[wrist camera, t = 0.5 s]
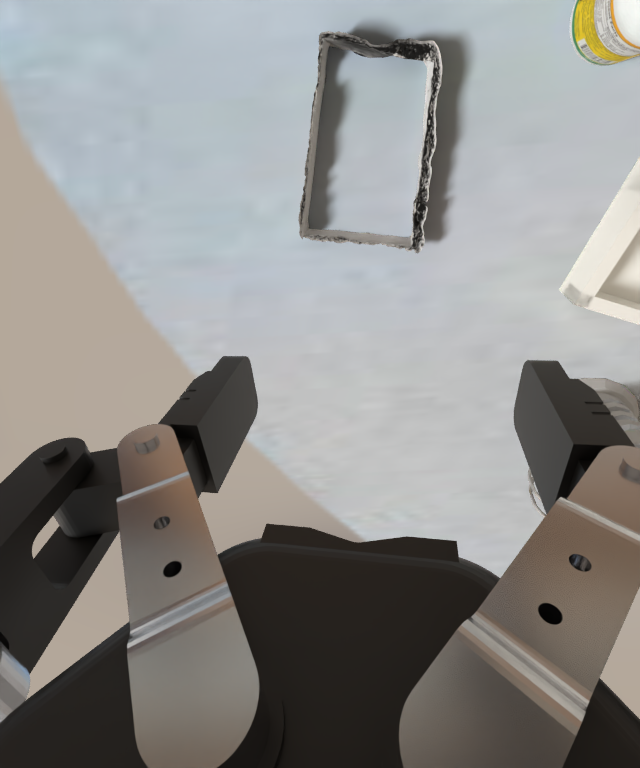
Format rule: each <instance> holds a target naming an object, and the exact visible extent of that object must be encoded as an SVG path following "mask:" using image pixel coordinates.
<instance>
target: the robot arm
mask: <svg viewBox="0 0 640 768" xmlns="http://www.w3.org/2000/svg"><path fill="white" fill-rule="evenodd" d="M257 408H258V400H257V394H256V389H255V383H254V378H253V373H252V368H251V363H250V360H249V358H248V357H246V356H223V357H222V358H221V359H220V360H219V362H218V363H217V364H216V366H215V367H214V368H213V369H212V371H207V372H205V373H204V374H202V375H201V376H199V377H197V378H196V379H194V380H193V382H192V383H191V384H190V385H189V387H188V388H187V389H186V392H184V393H183V394H182V395H181V396H180V399H179V400H177V401H176V403H175V404H174V405H173V406H172V407H171V409H170V410H169V411H168V412H167V414H166V415H165V416H164V417H163V419H162V420H161V421H160V422H159V423H158V424H153V425H147V426H144V427H141V428H138V429H136V430H134V431H132V432H131V433H129V434H128V435H126V436H125V437H124V438H123V439H122V440H121V441H120V443H119V444H118V447H117V448H114V449H109V450H103V451H97V452H91V453H90V452H89V450H88V448H87V446H86V444H85V442H84V441H83V440H81V439H79V438H64V439H59V440H56V441H53V442H50V443H48V444H46V445H44V446H42V447H41V448H39V449H37V450H36V451H34V452H33V453H32V454H31V455H30V456H29V457H28V458H26V459H25V460H24V461H23V462H22V463H21V464H20V465H19V466H18V467H17V468H16V469H15V470H14V471H13V472H12V473H11V474H10V475H9V476H8V477H7V478H6V479H5V480H4V481H3V482H2V483H0V768H640V719H639V718H638V717H637V716H636V715H635V714H634V713H633V712H632V711H631V710H630V709H629V708H628V707H627V706H626V705H625V704H624V703H623V702H622V701H621V700H620V699H619V697H618V696H616V694H615V693H614V692H613V691H612V690H611V689H610V688H609V687H608V686H607V685H606V684H605V683H604V682H603V681H602V680H601V679H600V675H601V673H602V671H603V669H604V666H605V664H606V662H607V660H608V657H609V655H610V653H611V650H612V648H613V646H614V644H615V641H616V639H617V637H618V634H619V632H620V630H621V628H622V625H623V623H624V621H625V619H626V616H627V614H628V612H629V609H630V607H631V605H632V603H633V600H634V598H635V596H636V593H637V591H638V589H639V587H640V448H637V447H635V446H634V444H633V443H632V441H631V440H630V439H629V437H628V436H627V434H626V433H625V432H624V430H623V429H622V427H621V426H620V425H619V423H618V422H617V420H616V419H615V418H614V416H613V415H611V412H610V411H609V409H608V408H607V406H606V405H603V401H602V399H601V398H600V397H599V395H598V394H597V392H596V391H595V390H594V389H593V388H591V387H590V386H588V385H587V384H585V383H584V382H582V381H581V380H579V379H569V377H568V376H567V374H566V373H565V371H564V370H563V368H562V366H561V365H560V363H559V362H558V361H537V360H527V361H526V362H525V363H524V366H523V369H522V374H521V379H520V383H519V388H518V393H517V398H516V402H515V407H514V425H515V429H516V432H517V435H518V437H519V440H520V443H521V446H522V448H523V451H524V454H525V457H526V459H527V462H528V465H529V468H530V470H531V473H532V476H533V478H534V481H535V484H536V487H537V489H538V492H539V495H540V498H541V500H542V503H543V506H544V509H545V511H546V514H547V515H546V516H545V518H544V519H543V521H542V522H541V523H540V525H539V526H538V527H537V529H536V530H535V532H534V533H533V534H532V536H531V537H530V538H529V540H528V541H527V543H526V544H525V545H524V547H523V548H522V549H521V551H520V552H519V554H518V555H517V556H516V558H515V559H514V561H513V562H512V563H511V565H510V566H509V567H508V569H507V570H506V572H505V573H504V574H503V576H502V577H501V578H499V577H497V576H496V575H495V574H493V573H492V572H490V571H488V570H486V569H485V568H483V567H481V566H479V565H477V564H475V563H473V562H470V561H468V560H465V559H463V558H460V557H458V549H457V541H450V540H439V539H428V538H417V537H400V538H392V539H384V540H377V541H369V542H361V543H356V542H351V541H348V540H345V539H342V538H339V537H336V536H333V535H330V534H327V533H324V532H321V531H318V530H315V529H312V528H307V527H295V526H285V525H274V524H266V527H265V530H264V533H263V536H262V538H260V539H255V540H251V541H247V542H244V543H241V544H239V545H236V546H233V547H231V548H229V549H227V550H225V551H223V552H222V553H220V554H218V555H217V552H216V550H215V547H214V544H213V541H212V538H211V535H210V532H209V530H208V527H207V524H206V521H205V518H204V515H203V512H202V510H201V507H200V503H199V501H198V498H199V496H200V494H201V492H210V493H218V491H219V489H220V487H221V485H222V483H223V481H224V479H225V477H226V475H227V473H228V471H229V469H230V467H231V465H232V463H233V461H234V459H235V457H236V455H237V453H238V451H239V449H240V447H241V445H242V443H243V441H244V439H245V437H246V435H247V433H248V431H249V429H250V427H251V425H252V423H253V421H254V419H255V417H256V414H257ZM52 516H54V517H55V519H56V521H57V522H58V524H59V525H60V526H59V527H58V529H57V530H56V531H55V532H54V534H53V535H52V536H51V538H50V539H49V540H48V541H47V543H46V544H45V545H44V546H43V548H42V549H41V550H40V551H39V553H38V554H37V555H36V557H35V558H34V559H33V557H32V545H33V542H34V540H35V538H36V536H37V534H38V533H39V532H40V530H42V528H43V527H44V526H45V525H46V523H47V522H48V521H49V520H50V518H51V517H52ZM119 531H120V539H121V548H122V557H123V566H124V575H125V584H126V593H127V601H128V611H129V622H128V623H127V624H126V625H124V626H123V627H122V628H120V629H119V630H118V631H116V632H115V633H114V634H112V635H111V636H110V637H109V638H107V639H106V640H105V641H103V642H102V643H101V644H99V645H98V646H97V647H95V648H94V649H93V650H91V651H90V652H89V653H87V654H86V655H85V656H84V657H82V658H81V659H80V660H78V661H77V662H76V663H74V664H73V665H72V666H70V667H69V668H68V669H66V670H65V671H64V672H62V673H61V674H60V675H59V676H57V677H56V678H55V679H53V680H52V681H51V682H49V683H48V684H47V685H45V686H44V687H43V688H41V689H40V690H39V691H38V692H36V693H35V694H34V695H32V696H31V697H30V698H28V699H27V700H26V698H27V695H28V692H29V687H30V676H29V675H30V673H31V671H32V670H33V668H34V667H35V665H36V663H37V662H38V660H39V659H40V657H41V655H42V654H43V652H44V651H45V649H46V647H47V646H48V644H49V643H50V641H51V640H52V638H53V636H54V635H55V633H56V632H57V630H58V628H59V627H60V625H61V623H62V622H63V620H64V619H65V617H66V616H67V614H68V612H69V611H70V609H71V608H72V606H73V604H74V603H75V601H76V600H77V598H78V596H79V595H80V593H81V592H82V590H83V588H84V587H85V585H86V584H87V582H88V580H89V579H90V577H91V576H92V574H93V572H94V571H95V569H96V568H97V566H98V564H99V563H100V561H101V560H102V558H103V556H104V555H105V553H106V552H107V550H108V548H109V547H110V545H111V543H112V542H113V540H114V539H115V537H116V536H117V534H118V532H119ZM25 700H26V701H25Z"/></svg>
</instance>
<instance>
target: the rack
mask: <svg viewBox="0 0 640 768" xmlns="http://www.w3.org/2000/svg"><path fill="white" fill-rule="evenodd" d="M559 291H560V292H562V293H563V294H564V295H565V296H566V297H567V298H568V299H569V300H570V301H571V302H572V303H573V304H574V305H576V306H580V307H583V308H586V309H589V310H593V311H596V312H599V313H603V314H606V315H609V316H612V317H616V318H619V319H622V320H625V321H629V322H632V323H635V324H638V325H640V157H639V158H638V160H637V162H636V163H635V165H634V167H633V168H632V170H631V172H630V173H629V175H628V177H627V178H626V180H625V182H624V183H623V185H622V187H621V188H620V190H619V192H618V193H617V195H616V196H615V198H614V200H613V201H612V203H611V205H610V206H609V208H608V210H607V211H606V213H605V215H604V216H603V218H602V220H601V221H600V223H599V225H598V226H597V228H596V230H595V231H594V233H593V234H592V236H591V238H590V239H589V241H588V243H587V244H586V246H585V248H584V249H583V251H582V253H581V254H580V256H579V258H578V259H577V261H576V263H575V264H574V266H573V267H572V269H571V271H570V272H569V274H568V276H567V277H566V279H565V281H564V282H563V284H562V286H561V287H560V289H559Z"/></svg>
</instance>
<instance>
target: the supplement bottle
mask: <svg viewBox="0 0 640 768" xmlns="http://www.w3.org/2000/svg"><path fill="white" fill-rule="evenodd" d="M570 39H571V43H572V46H573V48H574V50H575V52H576V53H577V54H578V56H579V57H580V58H581V59H583V60H584V61H586V62H587V63H590V64H593V65H599V66H606V65H612V64H616V63H618V62H621V61H624V60H627V59H630V58H634V57H637V56H640V0H576V1H575V3H574V6H573V9H572V13H571V18H570Z"/></svg>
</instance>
